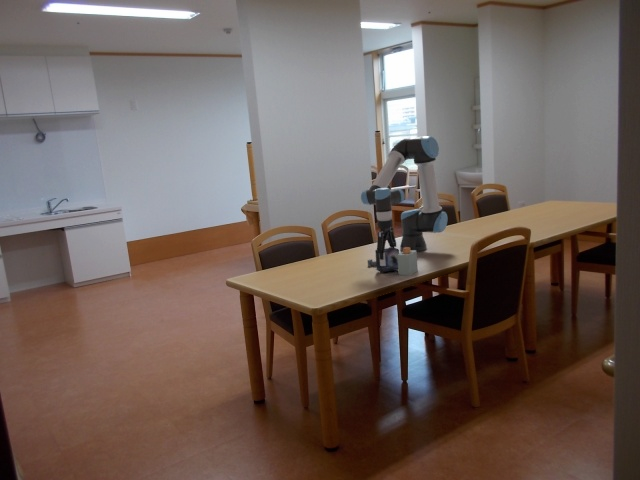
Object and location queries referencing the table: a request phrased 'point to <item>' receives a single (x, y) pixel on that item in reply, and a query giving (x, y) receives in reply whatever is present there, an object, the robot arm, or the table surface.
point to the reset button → (406, 250)
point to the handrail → (371, 262)
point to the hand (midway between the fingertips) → (387, 262)
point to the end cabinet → (407, 263)
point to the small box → (388, 260)
